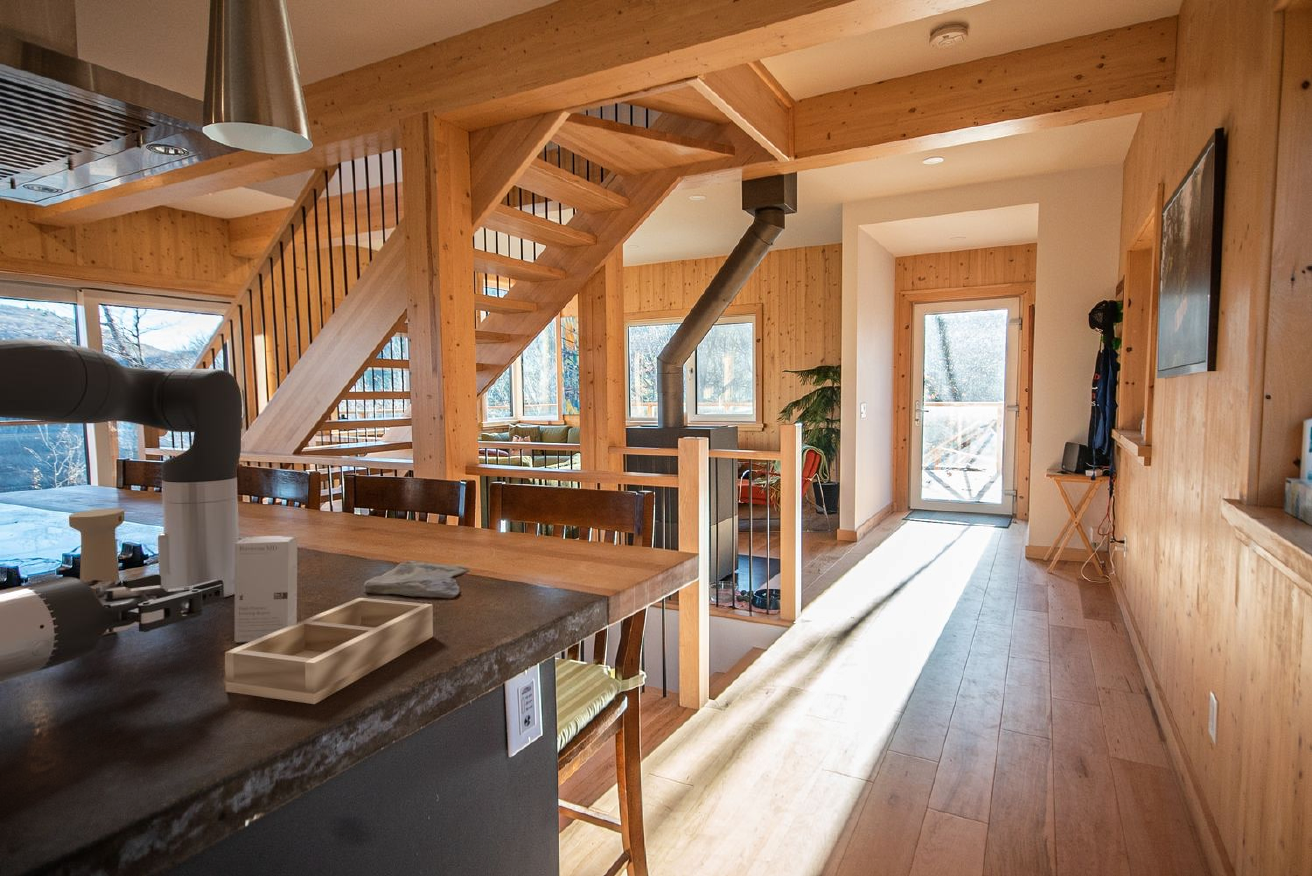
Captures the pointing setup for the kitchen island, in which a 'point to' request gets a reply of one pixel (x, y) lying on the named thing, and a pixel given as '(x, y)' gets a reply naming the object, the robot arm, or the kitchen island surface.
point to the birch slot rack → (327, 650)
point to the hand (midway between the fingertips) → (189, 586)
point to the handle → (98, 543)
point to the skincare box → (265, 586)
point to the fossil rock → (417, 580)
